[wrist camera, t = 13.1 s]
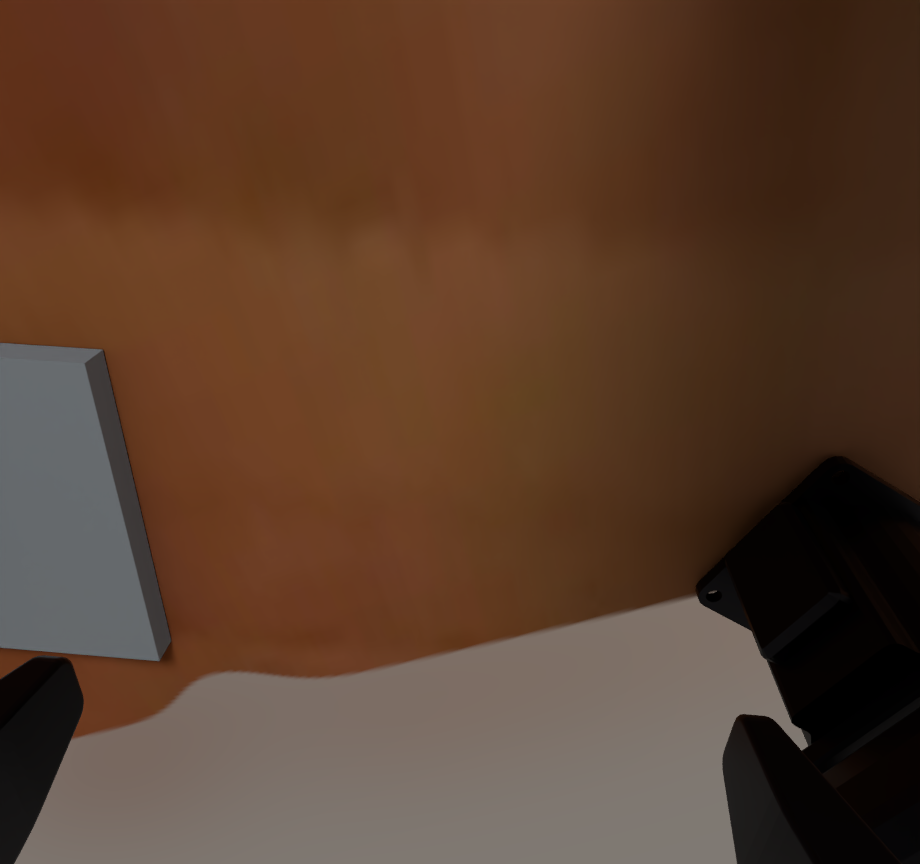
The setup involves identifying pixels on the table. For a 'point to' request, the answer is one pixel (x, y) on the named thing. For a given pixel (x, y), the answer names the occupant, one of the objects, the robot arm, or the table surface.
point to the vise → (71, 513)
